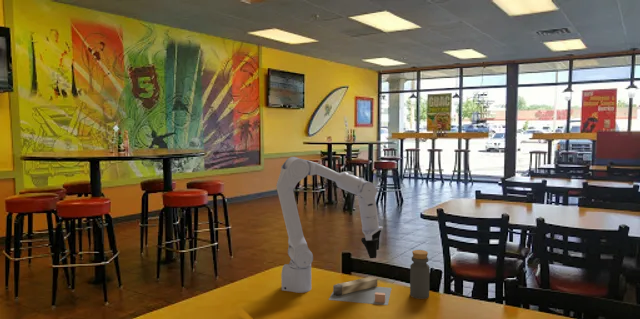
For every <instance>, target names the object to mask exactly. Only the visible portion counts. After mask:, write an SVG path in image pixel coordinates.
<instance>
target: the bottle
mask: <svg viewBox="0 0 640 319" xmlns="http://www.w3.org/2000/svg"><path fill="white" fill-rule="evenodd" d="M428 254H429V252H428V251H427V250H423V249H415V250H412V255H411V261H412V263H411V264H410V271H409V272H410V273H409V275H410V276H409V280H410V281H409V282H410V283H409V286H410V287H409V293H410V294H409V295H410V296H411V298H414V299H419V300H423V299H428V298H429V297H430V272H431V271H430V265H429V264H428V262H429V257H428Z"/></svg>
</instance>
